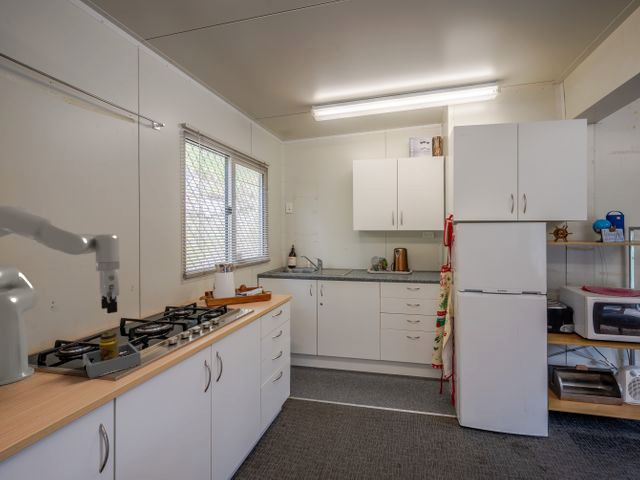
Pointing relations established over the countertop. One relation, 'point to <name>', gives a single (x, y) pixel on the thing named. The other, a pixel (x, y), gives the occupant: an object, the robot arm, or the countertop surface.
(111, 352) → the condiment
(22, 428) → the countertop surface
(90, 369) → the bin
